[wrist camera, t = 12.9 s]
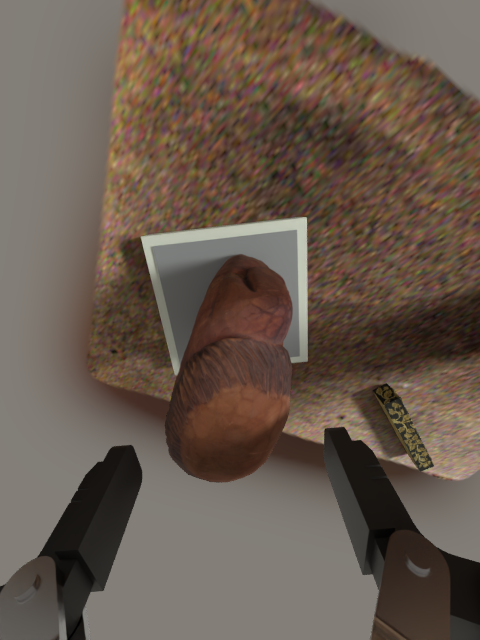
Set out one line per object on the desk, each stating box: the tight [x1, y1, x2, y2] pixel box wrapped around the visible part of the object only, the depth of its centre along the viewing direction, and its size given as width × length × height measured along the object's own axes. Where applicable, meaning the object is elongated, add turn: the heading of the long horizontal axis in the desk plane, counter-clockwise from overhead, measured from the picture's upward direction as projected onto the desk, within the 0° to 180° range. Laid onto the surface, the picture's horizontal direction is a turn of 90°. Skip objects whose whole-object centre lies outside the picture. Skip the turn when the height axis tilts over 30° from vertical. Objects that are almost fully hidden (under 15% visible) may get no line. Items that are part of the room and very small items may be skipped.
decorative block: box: [373, 384, 434, 471], centre depth 37 cm, size 15×2×4 cm, turn 33°
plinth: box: [141, 217, 308, 375], centre depth 29 cm, size 16×16×4 cm
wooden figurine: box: [165, 254, 293, 482], centre depth 19 cm, size 12×6×18 cm, turn 161°
